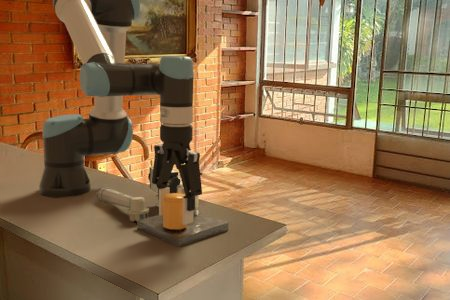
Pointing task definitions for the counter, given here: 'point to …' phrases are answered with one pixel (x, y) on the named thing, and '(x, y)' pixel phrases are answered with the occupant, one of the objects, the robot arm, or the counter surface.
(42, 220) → the counter surface
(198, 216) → the grey slab with post
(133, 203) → the white handheld device
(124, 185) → the counter surface
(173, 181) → the pneumatic valve
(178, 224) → the orange acorn nut
